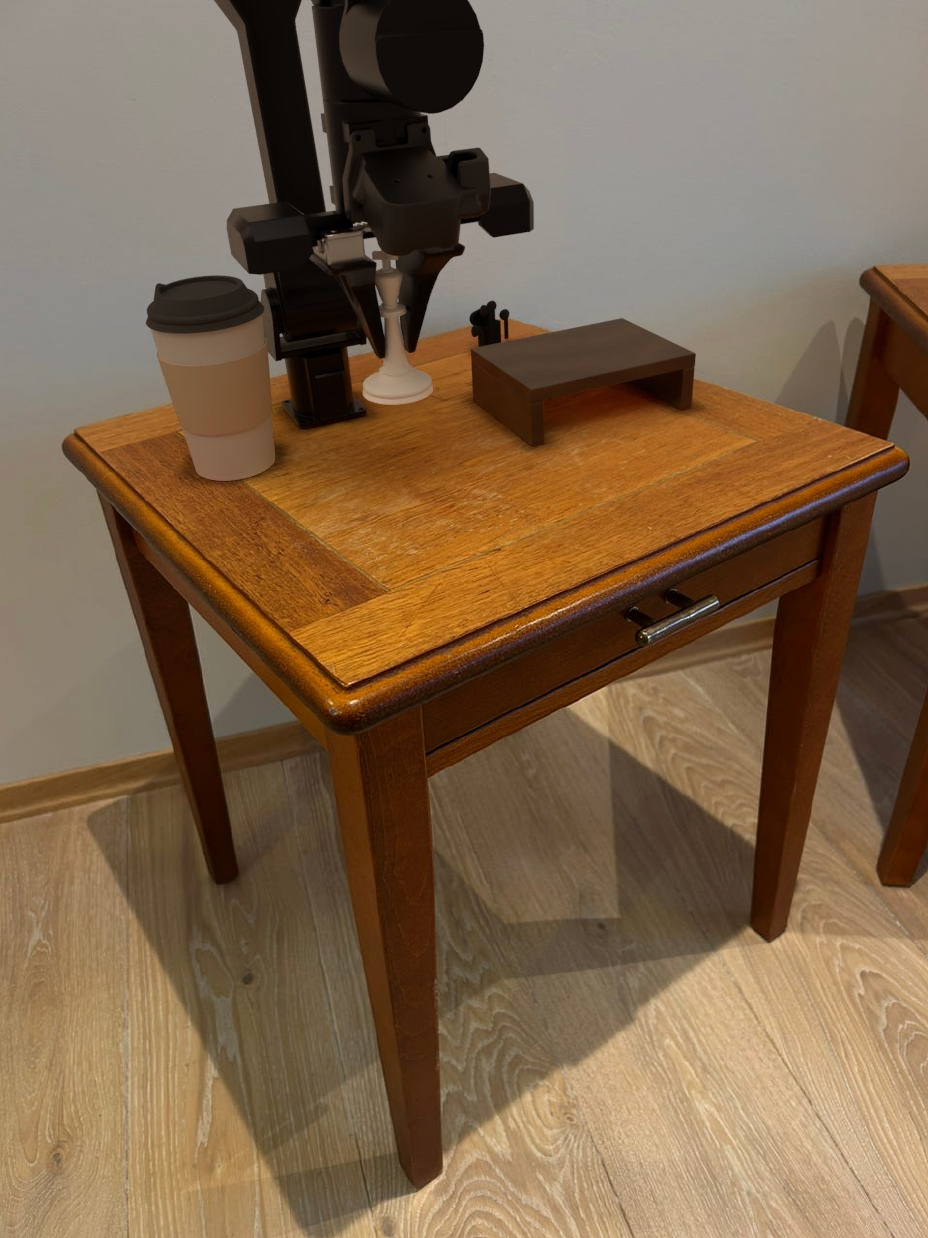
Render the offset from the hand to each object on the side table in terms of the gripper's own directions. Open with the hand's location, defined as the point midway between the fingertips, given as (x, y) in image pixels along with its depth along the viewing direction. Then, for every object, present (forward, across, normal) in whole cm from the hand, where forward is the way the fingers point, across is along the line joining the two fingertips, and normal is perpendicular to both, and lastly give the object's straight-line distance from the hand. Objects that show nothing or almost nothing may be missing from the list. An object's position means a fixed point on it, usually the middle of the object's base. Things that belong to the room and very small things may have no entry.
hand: (395, 354), depth 66 cm
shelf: (+12, +21, +12) cm, 27 cm away
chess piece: (+3, 0, 0) cm, 3 cm away
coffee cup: (+13, -10, +16) cm, 22 cm away
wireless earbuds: (+13, +20, +30) cm, 38 cm away
